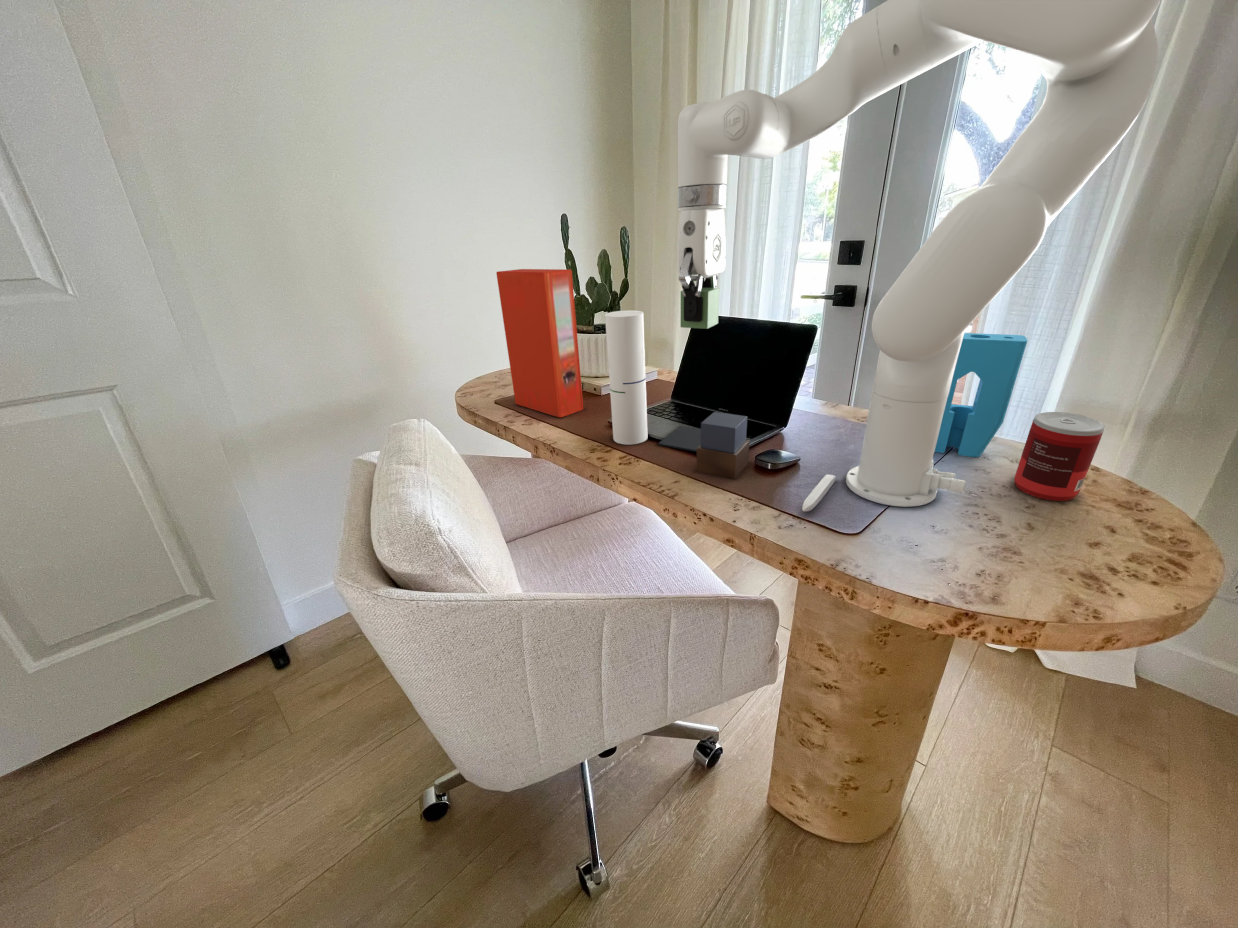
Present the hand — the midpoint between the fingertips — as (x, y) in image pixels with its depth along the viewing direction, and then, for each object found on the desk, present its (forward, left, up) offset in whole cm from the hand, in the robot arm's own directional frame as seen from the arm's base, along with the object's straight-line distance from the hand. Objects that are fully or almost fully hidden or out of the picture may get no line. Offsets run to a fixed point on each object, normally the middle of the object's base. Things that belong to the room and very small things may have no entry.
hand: (699, 317), depth 85 cm
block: (-42, -17, -25) cm, 51 cm away
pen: (-25, +11, -25) cm, 37 cm away
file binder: (+43, -7, -25) cm, 50 cm away
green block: (0, 0, -1) cm, 1 cm away
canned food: (-54, -6, -25) cm, 59 cm away
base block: (-8, +7, -25) cm, 27 cm away
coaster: (+2, -2, -25) cm, 25 cm away
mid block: (-8, +7, -20) cm, 22 cm away
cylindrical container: (+14, +2, -25) cm, 29 cm away
